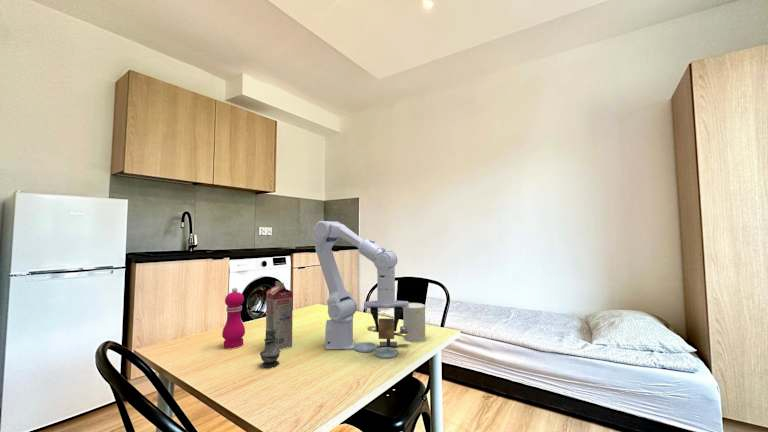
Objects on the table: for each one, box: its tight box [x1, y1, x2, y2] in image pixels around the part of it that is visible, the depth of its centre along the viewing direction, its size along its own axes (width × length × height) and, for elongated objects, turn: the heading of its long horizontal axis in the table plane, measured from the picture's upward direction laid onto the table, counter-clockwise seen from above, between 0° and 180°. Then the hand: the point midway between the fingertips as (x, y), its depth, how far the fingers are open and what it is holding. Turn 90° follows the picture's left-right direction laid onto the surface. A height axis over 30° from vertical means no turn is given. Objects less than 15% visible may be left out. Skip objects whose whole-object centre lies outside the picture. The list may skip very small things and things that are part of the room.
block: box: [378, 318, 395, 340], centre depth 101 cm, size 5×5×5 cm
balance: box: [367, 325, 409, 349], centre depth 108 cm, size 15×4×6 cm, turn 92°
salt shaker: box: [259, 324, 282, 369], centre depth 93 cm, size 6×6×12 cm
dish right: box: [374, 347, 399, 359], centre depth 101 cm, size 8×8×1 cm
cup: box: [402, 302, 426, 343], centre depth 117 cm, size 8×8×12 cm
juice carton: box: [265, 281, 294, 350], centre depth 109 cm, size 7×7×22 cm
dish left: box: [353, 341, 377, 354], centre depth 106 cm, size 8×8×1 cm
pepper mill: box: [221, 287, 246, 349], centre depth 109 cm, size 7×7×20 cm
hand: (386, 330), depth 101 cm, fingers closed on block, 5 cm apart
